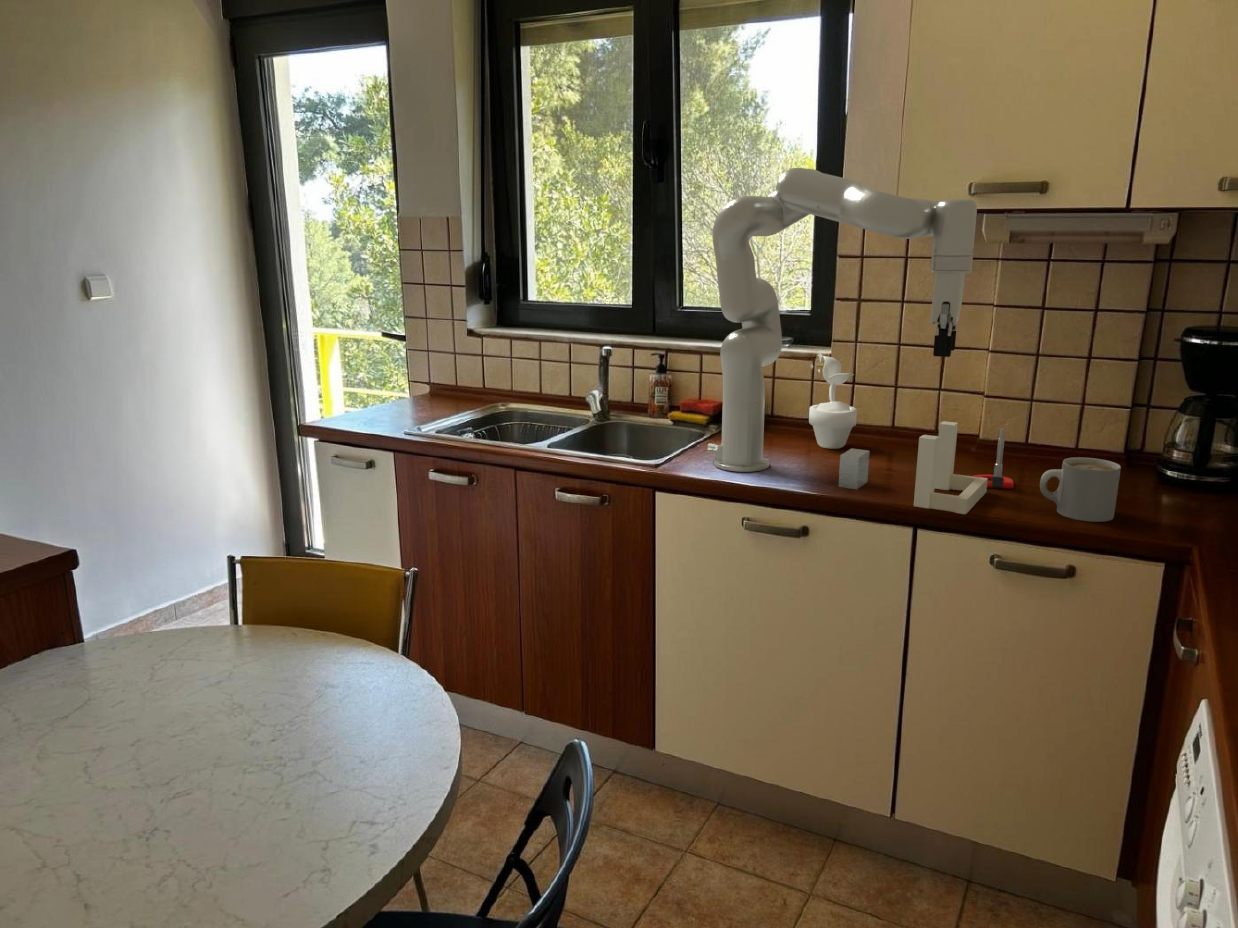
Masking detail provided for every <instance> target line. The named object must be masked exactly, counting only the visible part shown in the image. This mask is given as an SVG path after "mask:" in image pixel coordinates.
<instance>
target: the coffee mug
mask: <svg viewBox="0 0 1238 928" xmlns="http://www.w3.org/2000/svg"><path fill="white" fill-rule="evenodd" d="M1061 463H1062V464H1061V469H1060V468H1059V469H1049V470H1046V471H1045V472H1043V474H1042V475H1041V477H1040V480H1039V488H1040V492H1041V495H1042V496H1043V497H1044V498H1046V499H1048V500H1050V501H1052V502H1053V503H1055V504H1056V512H1057V513H1058V514H1059V515H1061V516H1062V517H1064V518H1065V517H1066V518H1069V519H1072V520H1075V521H1076V520H1077V521H1083V522H1093V523H1095V522H1097V523H1098V522H1109V521H1112V520H1113V519H1114V518H1115V511H1116V504H1117V497H1118V491H1119V483H1120V477H1121V469H1122V467H1121V465H1120V464H1119V463H1116V462H1114V461H1111V460H1107V459H1101V458H1100V459H1099V458H1094V457H1083V456H1082V457H1080V456H1078V457H1069V458H1064V459H1063V461H1062V462H1061ZM1052 478H1057V479H1058V486H1057V489H1056V490H1055V491H1050V490H1049V489H1048V482H1049V480H1050V479H1052Z"/></svg>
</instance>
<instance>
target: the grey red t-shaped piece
mask: <svg viewBox="0 0 1238 928" xmlns="http://www.w3.org/2000/svg"><path fill="white" fill-rule="evenodd" d="M1004 436H1005V428H1000V430H999V438H998V440H997V449H996V459H995V460H996V461H995V464H994V469H993V474H974V475H972V476H971V477H982V478H988V481H987V489H997V490H998V489H1001V490H1002V489H1006V490H1007V489H1008V490H1009V489H1010V490H1013V489H1014V487H1015V483H1014V480H1013V479H1012V478H1010V477H1007V476H1006V477H1005V476H1003V467H1004V465H1003V457H1004V446H1005V438H1004Z"/></svg>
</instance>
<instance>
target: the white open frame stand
mask: <svg viewBox="0 0 1238 928" xmlns="http://www.w3.org/2000/svg"><path fill="white" fill-rule="evenodd" d="M958 425H959V423H958V422H956V421H955V422H953V421H945V420H944V421H941V422H939V425H938V426H939V427H938V434H937V435H930V434H929V435H928V434H923V435H921V436H919V438H918V449H917V461H916V471H915V483H914V484H915V486H914V494H913V496H914V499H913V507H918V508H922V509H933V510H937V511H938V510H939V511H945V512H952V513H955V514H961V515H966V514H968V512H969V511H971V509H972V508H973V507H974V506H975V505H976V504H977V503H978V502H979V501H980V500H981V499H982V497H984V495H985V494H987V492H988V491H987V489H988V488H987V481H989V479H988V478H982V477H972V476H971V475H965V474H964V475H962V474H955V473H954V468H955V459H956V450H957V448H956V447H957V437H958ZM935 489H937V490H942V491H950V490H956V491H961V490H962V491H961V493H959V495H955V494H947V493H942V492H941V493H940V492H935Z"/></svg>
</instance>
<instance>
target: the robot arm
mask: <svg viewBox="0 0 1238 928" xmlns="http://www.w3.org/2000/svg"><path fill="white" fill-rule="evenodd" d="M977 212H978V205H977V203H976V201H975V200H973V199H970V198H969V199H968V198H967V199H965V198H963V199H962V198H955V199H954V198H953V199H949V198H947V199H941V200H940V201H939V200H938V201H937V200H931V199H922V198H911V197H910V198H909V197H905V196H899V195H895V194H891V193H888V192H887V193H886V192H883V191H879V190H876V189H872V188H869V187H867V186H864V185H863V184H862V183H861V182H859V181H857V180H855V179H851V178H850V179H849V178H846V177H841V176H837V175H833V174H829V173H824V172H821V171H820V170H817V169H813V168H804V167H793V168H789V169H787V170H786V171H784V172H783V173H782V174H781V175H780V176H779V178H778V179H777V182H776V185H775V191H774V192H771V193H770V194H768V195H766V196H756V195H746V196H745V195H744V196H740V197H738V198H734V199H733V200H731V201H729V202H727V204H726V205H724V207H722V209H721V210H720V211H719V213H718V214H717V216H716V217H715V220H714V223H713V227H712V245H713V251H714V257H715V265H716V266H715V267H716V276H717V277H716V278H717V285H718V293H719V303H720V309H721V310H720V311H721V312H722V315H723V317H724V318H725V319H726V320H727V321H730V322H732V323H735V324H736V323H737V324H738V323H741V328H740V329H737V330H734V331H732V332H731V333H729V334H728V335H726V337H725V338H724V340H723V341H722V344H721V346H720V354H719V356H720V359H719V360H720V365H721V373H722V415H721V416H722V417H721V421H722V422H721V443H720V444H716V443H711V442H709V443H708V444H707V447H706V452H707V454H712V455H713V454H714V455H716V457H715V459H714V461H713V462H714V466H715V467H716V468H719V469H721V470H723V471H724V470H725V471H730V472H737V473H739V472H741V473H749V472H751V473H752V472H759V471H763V470H766V469H768V468H769V467H770V460H769V459H768V458H766V457H763V456H764V455H763V454H764V433H765V430H764V429H765V407H766V406H765V405H766V404H765V403H766V385H765V384H766V383H765V379H764V378H765V377H764V372H763V367H767V366H769V365H771V364H773V363H775V362H776V361H777V359H779V357H780V355H781V352H782V349H783V348H782V347H783V336H782V325H781V318H780V308H779V299H778V296H777V293H776V291H775V289H774V287H773V286H772V284H771V283H770V282H769V281H767V280H766V279H763V278H760V277H757V273H756V262H755V261H756V260H755V256H754V252H753V250H752V246H751V245H750V239H751V238H752V237H757V238H758V237H770V236H774V235H776V234H779V233H780V232H781V231H784V230H786V229H787V228H789V227H790V226H792V225H794V224H796V223H797V222H799V221H801V220H802V219H805V218H806V217H808V216H810V215H812V216H817V217H820V218H824V219H827V220H830V221H833V222H834V221H835V222H837V223H840V224H844V225H847V226H853V227H856V228H860V229H863V230H866V231H870V232H873V233H877V234H881V235H885V236H889V237H892V238H897V239H902V240H907V239H908V240H909V239H910V240H911V239H924V238H930V237H932V249H931V260H930V262H931V264H930V273H931V274H935V277H934V284H933V290H932V291H933V292H932V301H931V302H932V303H931V311H930V312H931V313H930V320H929V321H930V322H929V323H930V324H931V325H935V324H936V329H935V335H934V340H933V341H934V342H933V343H934V344H933V353H932V354H933V355H932V356H933V357H943V358H950V357H951V355H952V351H953V352H954V351H955V349H956V340H957V339H956V338H957V330H956V329H957V328H956V327H957V323H958V322H959V320H960V315H961V311H962V304H963V298H964V297H963V295H964V287H965V278H966V277H965V275H966V274H972V270H973V258H974V249H975V248H974V247H975V235H976V225H977V214H978V213H977Z"/></svg>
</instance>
